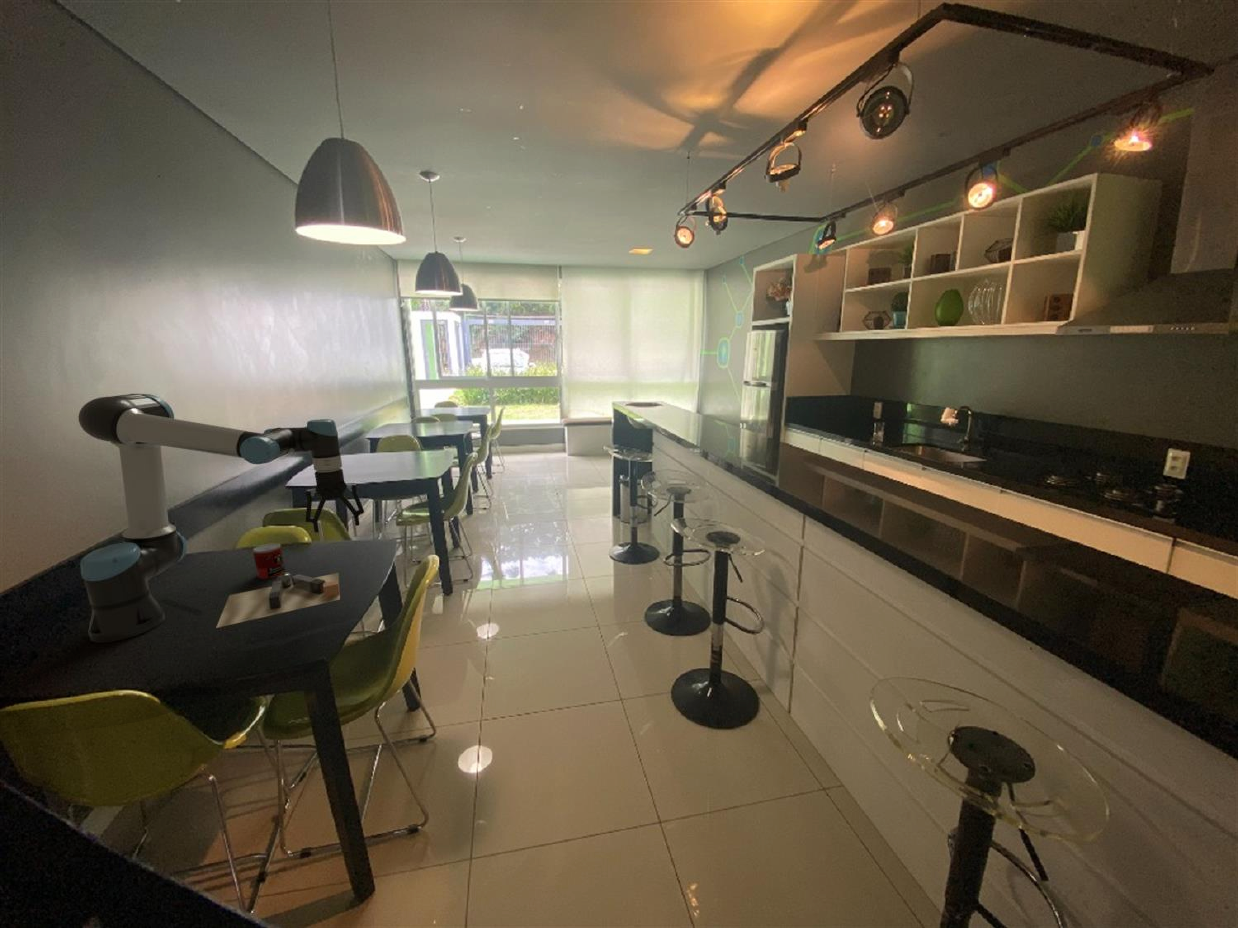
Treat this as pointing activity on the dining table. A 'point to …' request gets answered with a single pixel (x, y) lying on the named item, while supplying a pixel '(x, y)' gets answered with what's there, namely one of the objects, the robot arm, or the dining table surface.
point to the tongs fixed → (279, 589)
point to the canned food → (268, 560)
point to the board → (258, 603)
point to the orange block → (331, 588)
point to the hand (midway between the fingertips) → (339, 538)
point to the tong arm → (308, 584)
